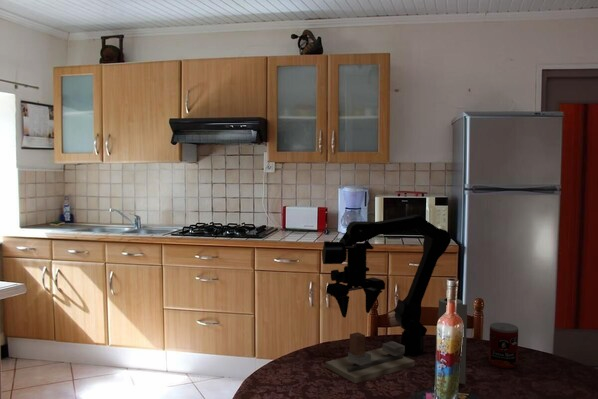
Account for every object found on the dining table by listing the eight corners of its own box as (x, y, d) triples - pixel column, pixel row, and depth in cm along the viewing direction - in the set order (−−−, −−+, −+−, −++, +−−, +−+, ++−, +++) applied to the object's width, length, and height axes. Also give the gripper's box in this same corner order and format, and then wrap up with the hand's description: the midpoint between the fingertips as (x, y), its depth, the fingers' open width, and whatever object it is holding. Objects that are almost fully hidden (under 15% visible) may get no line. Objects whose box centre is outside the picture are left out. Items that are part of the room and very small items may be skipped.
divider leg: (358, 360, 143) (359, 331, 142) (370, 366, 139) (371, 336, 138) (347, 363, 141) (348, 334, 140) (359, 369, 136) (360, 339, 136)
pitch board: (383, 352, 155) (383, 335, 154) (414, 366, 144) (415, 348, 144) (325, 367, 143) (325, 349, 142) (355, 383, 132) (355, 364, 131)
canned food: (488, 366, 144) (489, 328, 143) (489, 357, 151) (490, 321, 151) (517, 370, 141) (518, 332, 140) (516, 360, 148) (518, 324, 148)
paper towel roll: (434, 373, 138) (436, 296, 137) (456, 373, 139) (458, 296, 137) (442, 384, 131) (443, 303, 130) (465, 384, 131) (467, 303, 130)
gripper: (362, 257, 164) (362, 304, 164) (315, 262, 153) (315, 313, 154) (386, 262, 154) (385, 312, 155) (338, 268, 144) (337, 322, 145)
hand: (356, 314), depth 153 cm, fingers open, 9 cm apart
